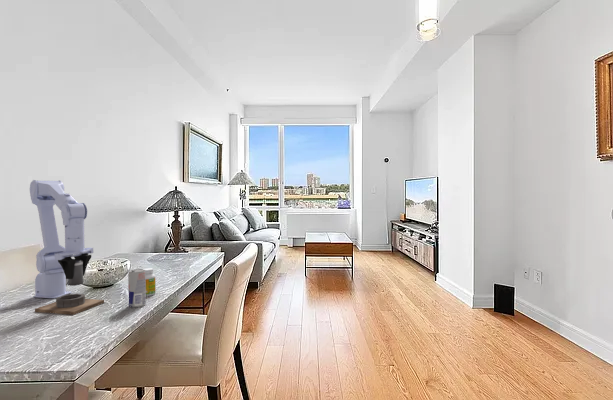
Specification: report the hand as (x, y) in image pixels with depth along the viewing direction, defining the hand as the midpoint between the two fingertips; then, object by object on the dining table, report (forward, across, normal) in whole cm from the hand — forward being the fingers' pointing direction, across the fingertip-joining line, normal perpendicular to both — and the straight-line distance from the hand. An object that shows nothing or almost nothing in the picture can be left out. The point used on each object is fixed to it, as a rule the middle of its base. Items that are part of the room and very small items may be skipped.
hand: (75, 277), depth 128 cm
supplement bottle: (+10, +16, -17) cm, 25 cm away
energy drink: (+10, +3, -22) cm, 24 cm away
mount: (+10, -3, -1) cm, 10 cm away
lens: (+2, 0, 0) cm, 2 cm away
